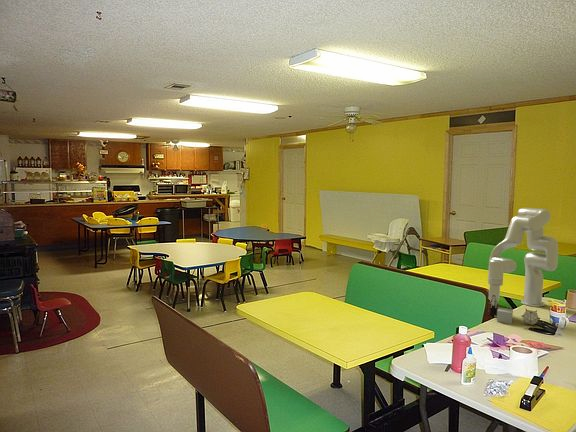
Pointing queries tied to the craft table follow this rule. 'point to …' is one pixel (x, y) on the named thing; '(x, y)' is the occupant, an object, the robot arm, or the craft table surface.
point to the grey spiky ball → (530, 317)
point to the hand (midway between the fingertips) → (493, 312)
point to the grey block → (504, 315)
